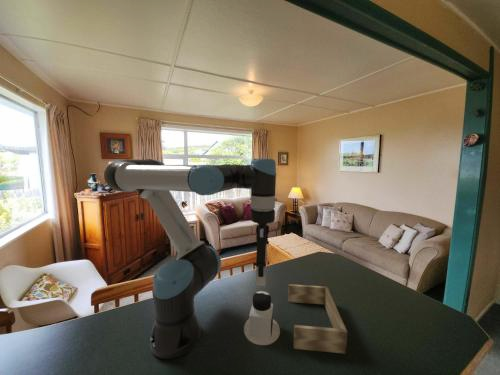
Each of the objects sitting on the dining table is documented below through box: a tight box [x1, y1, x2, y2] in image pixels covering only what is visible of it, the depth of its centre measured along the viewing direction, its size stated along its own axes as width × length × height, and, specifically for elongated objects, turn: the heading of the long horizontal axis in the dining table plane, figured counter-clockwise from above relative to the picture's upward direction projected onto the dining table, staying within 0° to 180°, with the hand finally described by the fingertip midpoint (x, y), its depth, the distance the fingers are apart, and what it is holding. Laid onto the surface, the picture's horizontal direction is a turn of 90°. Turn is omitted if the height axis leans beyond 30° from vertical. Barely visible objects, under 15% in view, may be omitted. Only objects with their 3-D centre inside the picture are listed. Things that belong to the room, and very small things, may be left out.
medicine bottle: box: [248, 290, 274, 338], centre depth 68 cm, size 7×7×12 cm
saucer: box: [243, 318, 281, 346], centre depth 69 cm, size 12×12×1 cm
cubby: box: [287, 283, 348, 355], centre depth 71 cm, size 15×22×7 cm
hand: (261, 273), depth 66 cm, fingers open, 13 cm apart
